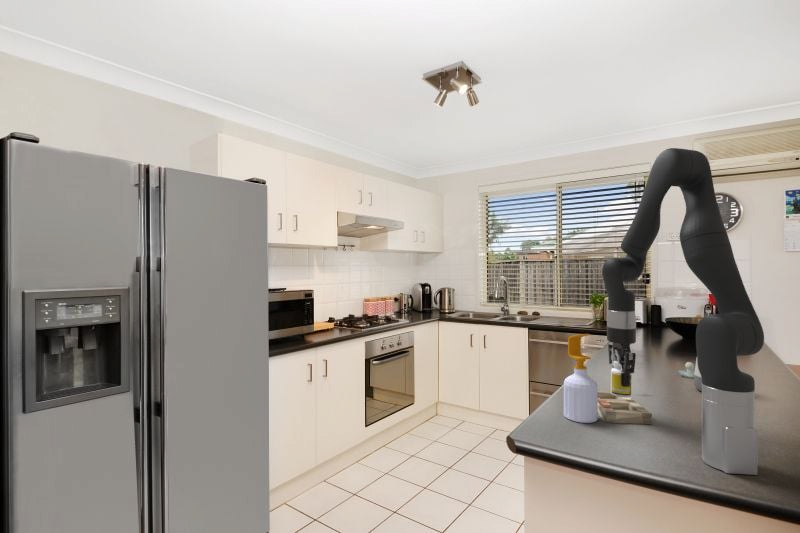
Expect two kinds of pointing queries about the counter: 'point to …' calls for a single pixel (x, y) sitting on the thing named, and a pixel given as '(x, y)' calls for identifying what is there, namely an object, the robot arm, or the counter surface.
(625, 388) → the supplement bottle
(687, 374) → the pacifier
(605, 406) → the socket block
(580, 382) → the soap bottle
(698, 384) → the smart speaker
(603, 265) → the robot arm
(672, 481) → the counter surface
